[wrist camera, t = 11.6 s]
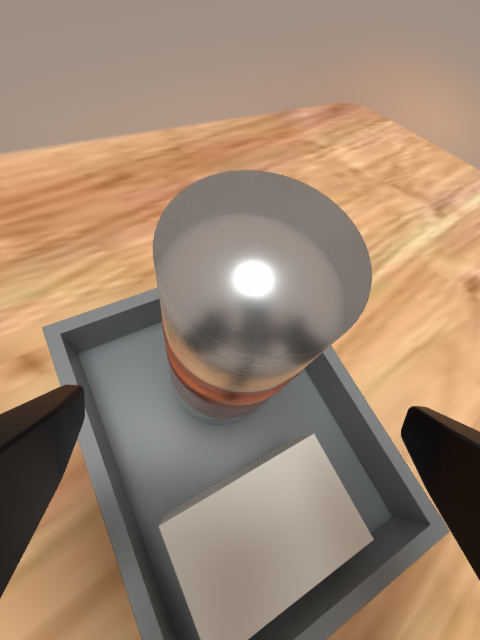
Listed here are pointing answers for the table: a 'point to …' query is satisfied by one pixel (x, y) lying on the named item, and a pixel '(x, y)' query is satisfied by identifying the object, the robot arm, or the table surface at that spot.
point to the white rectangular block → (262, 539)
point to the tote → (226, 466)
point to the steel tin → (253, 287)
